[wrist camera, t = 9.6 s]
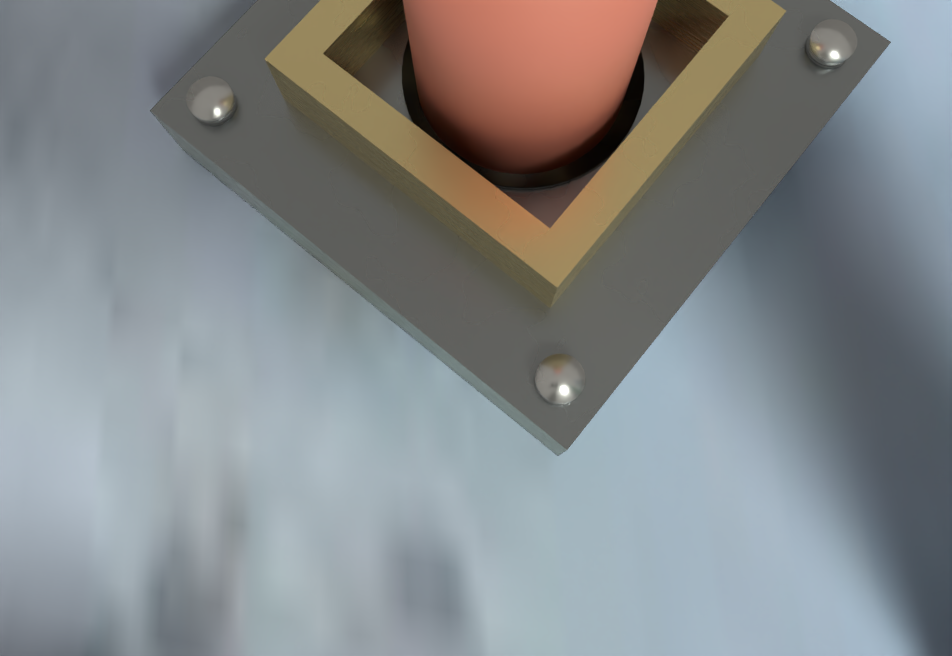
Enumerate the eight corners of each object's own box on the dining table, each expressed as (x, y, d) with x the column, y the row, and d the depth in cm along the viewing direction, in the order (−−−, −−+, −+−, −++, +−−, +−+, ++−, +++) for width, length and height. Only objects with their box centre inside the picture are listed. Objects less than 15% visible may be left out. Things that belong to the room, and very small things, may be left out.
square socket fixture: (557, 455, 23) (576, 444, 18) (183, 150, 25) (118, 72, 20) (850, 87, 25) (930, -3, 20) (485, -167, 27) (485, -300, 22)
